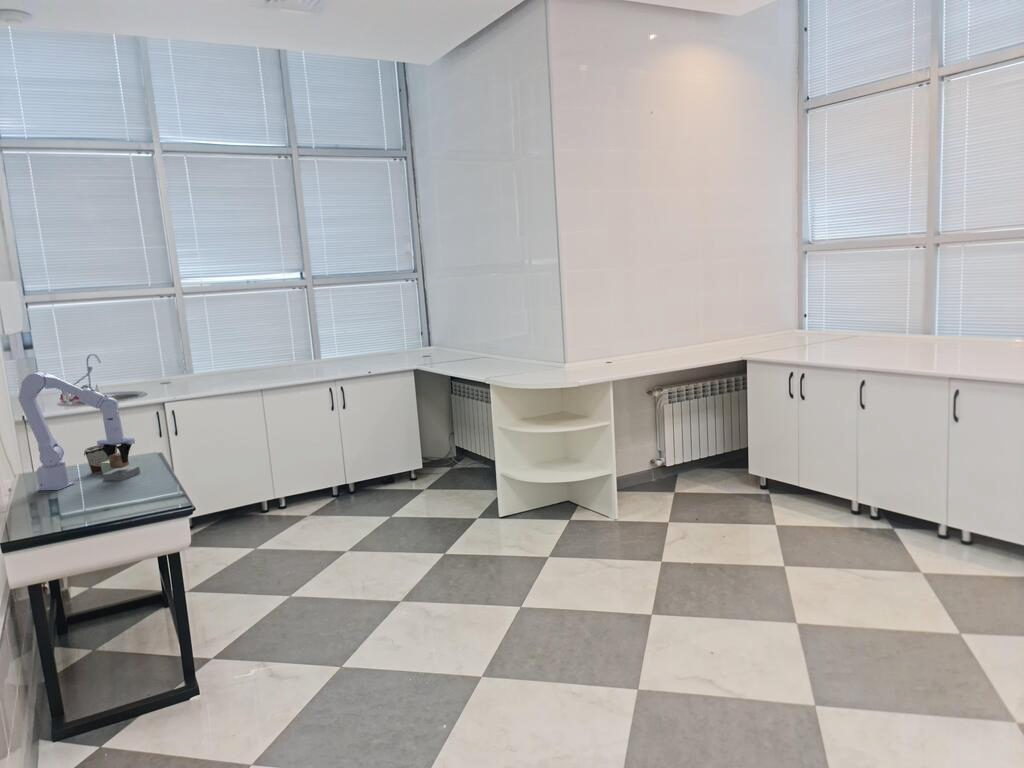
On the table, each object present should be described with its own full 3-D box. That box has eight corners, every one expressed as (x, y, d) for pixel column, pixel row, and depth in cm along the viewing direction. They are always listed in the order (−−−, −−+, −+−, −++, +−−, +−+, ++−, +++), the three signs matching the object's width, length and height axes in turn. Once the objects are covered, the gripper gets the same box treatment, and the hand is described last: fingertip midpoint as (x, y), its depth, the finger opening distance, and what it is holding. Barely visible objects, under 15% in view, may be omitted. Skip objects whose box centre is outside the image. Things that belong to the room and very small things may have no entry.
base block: (103, 481, 276) (102, 474, 275) (120, 474, 284) (119, 467, 284) (124, 481, 274) (122, 473, 273) (140, 473, 283) (139, 466, 282)
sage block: (102, 475, 284) (100, 463, 283) (110, 471, 288) (108, 459, 288) (112, 475, 283) (110, 462, 282) (120, 471, 287) (118, 459, 287)
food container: (118, 465, 298) (114, 441, 297) (122, 467, 294) (117, 443, 292) (85, 472, 291) (80, 448, 289) (88, 475, 286) (83, 450, 284)
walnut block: (110, 468, 276) (108, 455, 275) (118, 465, 281) (116, 452, 280) (121, 468, 276) (119, 455, 275) (129, 464, 280) (126, 452, 279)
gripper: (89, 432, 273) (95, 466, 275) (123, 430, 271) (129, 464, 273) (101, 427, 280) (108, 461, 282) (135, 425, 278) (141, 459, 280)
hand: (119, 462), depth 278 cm, fingers closed on walnut block, 4 cm apart
